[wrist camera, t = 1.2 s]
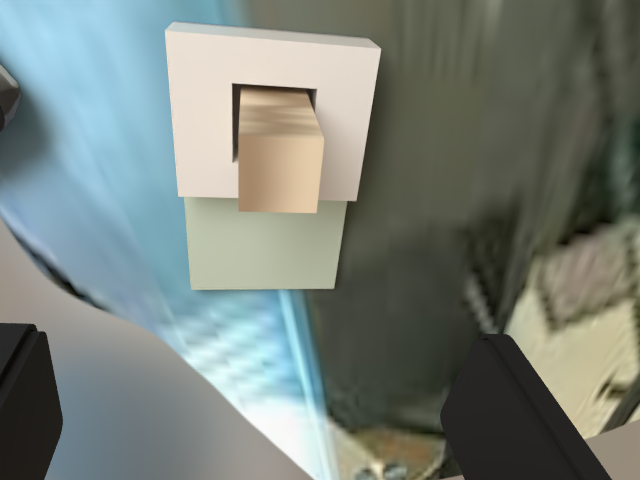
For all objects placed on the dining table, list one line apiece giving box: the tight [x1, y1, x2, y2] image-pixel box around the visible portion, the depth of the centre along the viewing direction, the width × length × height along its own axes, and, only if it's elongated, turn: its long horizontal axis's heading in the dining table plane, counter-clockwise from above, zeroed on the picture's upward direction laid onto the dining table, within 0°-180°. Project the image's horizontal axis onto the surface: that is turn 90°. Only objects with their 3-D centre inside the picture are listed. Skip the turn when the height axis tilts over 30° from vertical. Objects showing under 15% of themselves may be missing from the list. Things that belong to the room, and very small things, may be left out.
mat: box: [184, 197, 347, 290], centre depth 36 cm, size 12×9×1 cm
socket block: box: [165, 21, 381, 201], centre depth 29 cm, size 12×10×4 cm
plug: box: [238, 84, 324, 213], centre depth 26 cm, size 4×4×10 cm
